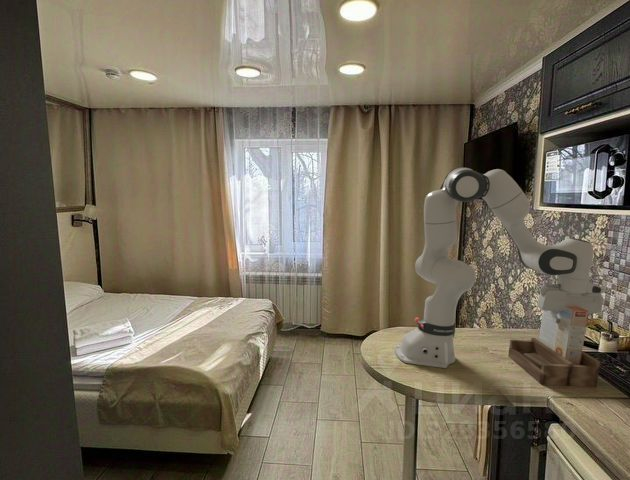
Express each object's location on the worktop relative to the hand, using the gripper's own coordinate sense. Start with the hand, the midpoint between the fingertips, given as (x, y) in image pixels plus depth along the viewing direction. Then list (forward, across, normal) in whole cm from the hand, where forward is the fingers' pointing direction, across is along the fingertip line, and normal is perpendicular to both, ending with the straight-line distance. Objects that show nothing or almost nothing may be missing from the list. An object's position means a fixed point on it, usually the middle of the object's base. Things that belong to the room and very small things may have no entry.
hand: (566, 323), depth 120 cm
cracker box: (+14, 0, +1) cm, 14 cm away
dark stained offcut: (+16, -8, 0) cm, 18 cm away
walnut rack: (+19, -4, 0) cm, 19 cm away
